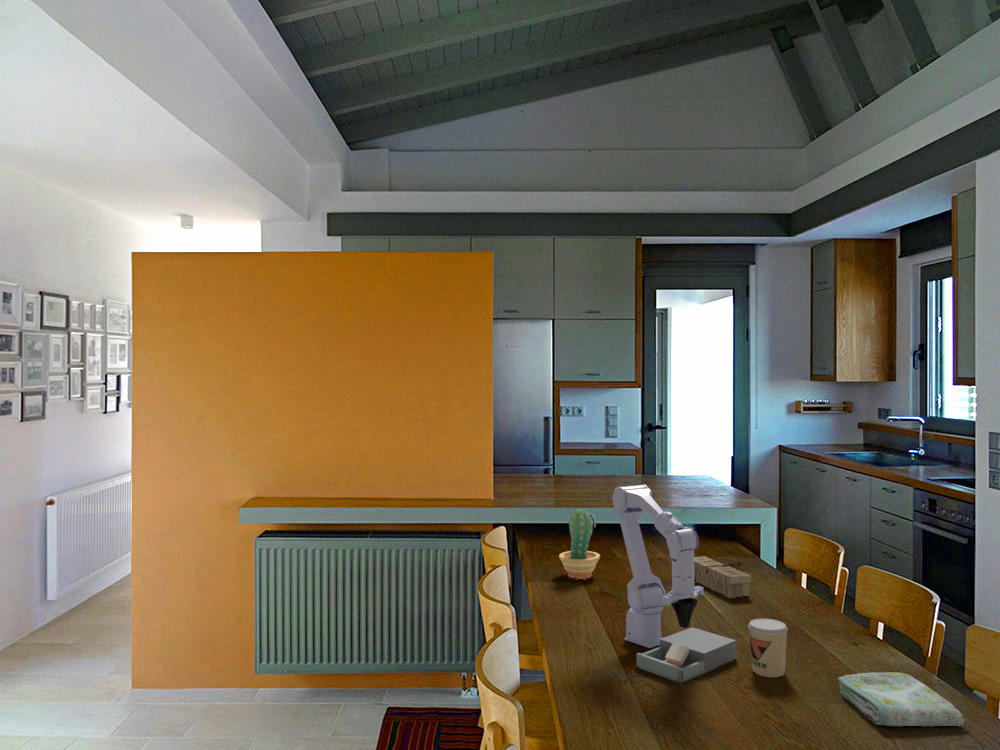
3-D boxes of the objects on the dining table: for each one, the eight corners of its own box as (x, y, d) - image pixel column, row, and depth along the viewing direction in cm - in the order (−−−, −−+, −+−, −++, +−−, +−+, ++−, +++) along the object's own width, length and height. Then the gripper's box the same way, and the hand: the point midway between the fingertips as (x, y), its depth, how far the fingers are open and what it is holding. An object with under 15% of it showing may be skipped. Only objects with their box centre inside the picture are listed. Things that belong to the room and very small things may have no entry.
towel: (910, 689, 181) (909, 667, 181) (965, 731, 160) (965, 706, 160) (834, 691, 181) (833, 669, 181) (880, 733, 160) (879, 709, 160)
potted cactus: (602, 581, 277) (601, 513, 277) (560, 582, 278) (559, 513, 278) (598, 570, 293) (596, 505, 293) (558, 571, 293) (556, 506, 293)
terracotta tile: (667, 659, 197) (667, 665, 197) (655, 663, 194) (655, 669, 194) (681, 664, 193) (681, 670, 193) (669, 669, 190) (669, 675, 190)
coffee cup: (741, 667, 195) (740, 621, 195) (770, 662, 198) (769, 616, 198) (766, 681, 186) (765, 632, 186) (796, 675, 190) (795, 627, 190)
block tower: (687, 580, 280) (731, 600, 252) (686, 557, 280) (730, 575, 252) (706, 578, 282) (752, 598, 254) (705, 556, 283) (750, 572, 254)
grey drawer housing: (660, 657, 203) (659, 639, 203) (692, 645, 212) (692, 627, 212) (704, 673, 192) (703, 653, 192) (736, 659, 201) (736, 640, 201)
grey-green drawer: (636, 667, 197) (636, 653, 197) (660, 657, 203) (660, 644, 203) (680, 683, 186) (680, 669, 186) (704, 673, 192) (704, 659, 192)
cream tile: (666, 660, 196) (665, 656, 195) (674, 647, 198) (672, 643, 198) (682, 665, 193) (680, 661, 192) (689, 651, 195) (688, 647, 195)
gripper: (677, 583, 192) (678, 637, 192) (712, 573, 201) (713, 624, 201) (655, 577, 197) (656, 629, 197) (691, 567, 206) (691, 617, 206)
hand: (684, 626), depth 199 cm, fingers closed
